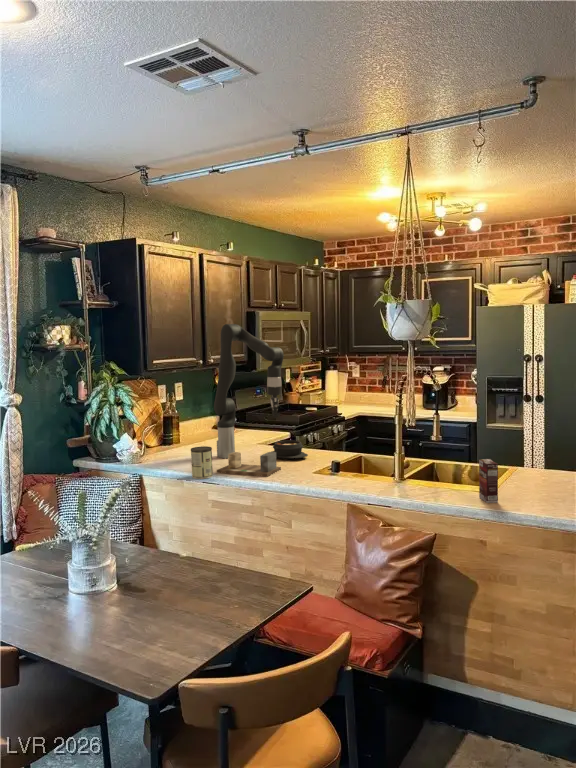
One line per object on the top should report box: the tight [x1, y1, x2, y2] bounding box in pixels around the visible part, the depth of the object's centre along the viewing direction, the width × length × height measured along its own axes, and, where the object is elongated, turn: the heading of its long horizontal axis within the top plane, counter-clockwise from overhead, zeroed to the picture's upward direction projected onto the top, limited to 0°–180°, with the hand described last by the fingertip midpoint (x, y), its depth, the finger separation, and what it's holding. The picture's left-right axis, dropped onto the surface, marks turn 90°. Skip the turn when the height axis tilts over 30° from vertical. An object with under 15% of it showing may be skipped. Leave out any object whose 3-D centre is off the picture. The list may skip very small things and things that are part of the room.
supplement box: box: [478, 458, 499, 504], centre depth 246 cm, size 9×5×16 cm, turn 3°
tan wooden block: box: [227, 451, 242, 469], centre depth 311 cm, size 4×10×7 cm, turn 156°
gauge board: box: [216, 451, 282, 478], centre depth 310 cm, size 28×16×10 cm, turn 66°
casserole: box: [270, 439, 309, 460], centre depth 342 cm, size 25×19×8 cm
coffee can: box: [190, 445, 214, 480], centre depth 301 cm, size 10×10×14 cm
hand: (274, 416), depth 324 cm, fingers open, 8 cm apart
